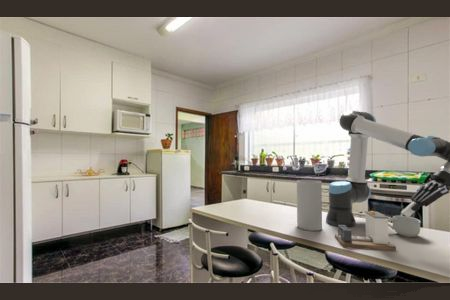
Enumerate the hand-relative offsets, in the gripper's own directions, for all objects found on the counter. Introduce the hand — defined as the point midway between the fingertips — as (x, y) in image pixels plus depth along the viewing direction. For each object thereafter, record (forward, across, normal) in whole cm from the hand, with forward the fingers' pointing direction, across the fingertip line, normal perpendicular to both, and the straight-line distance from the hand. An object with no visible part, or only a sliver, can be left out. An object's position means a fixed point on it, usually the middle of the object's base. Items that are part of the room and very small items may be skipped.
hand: (404, 214), depth 95 cm
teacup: (+4, +17, -15) cm, 23 cm away
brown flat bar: (+20, +1, +3) cm, 20 cm away
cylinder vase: (+34, +20, +15) cm, 43 cm away
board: (+21, +1, +2) cm, 21 cm away
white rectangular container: (+16, +1, -1) cm, 16 cm away
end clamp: (+25, +1, +8) cm, 27 cm away
